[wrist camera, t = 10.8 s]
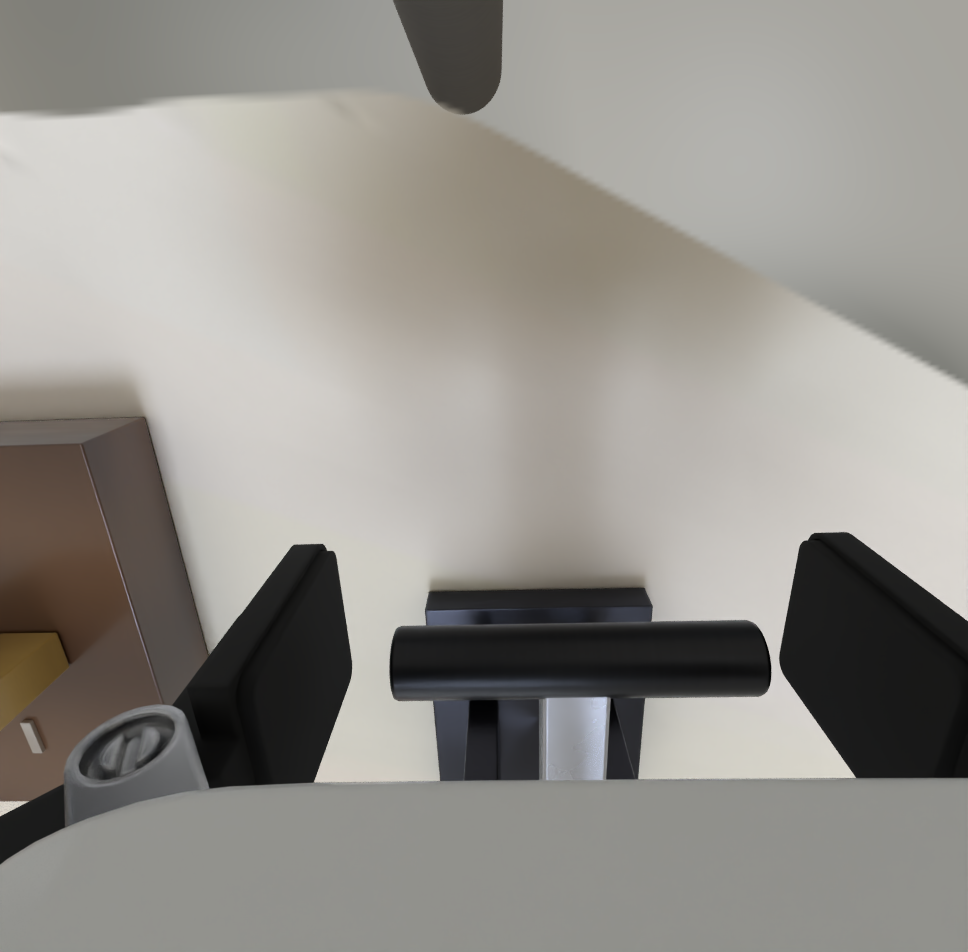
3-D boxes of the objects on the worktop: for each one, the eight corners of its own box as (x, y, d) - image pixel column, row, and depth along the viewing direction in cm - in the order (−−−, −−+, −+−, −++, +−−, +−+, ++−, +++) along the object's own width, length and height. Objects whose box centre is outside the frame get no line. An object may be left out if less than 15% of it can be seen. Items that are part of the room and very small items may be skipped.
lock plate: (-142, 425, 19) (-263, 455, 16) (145, 416, 18) (77, 444, 15) (2, 738, 24) (-69, 806, 21) (230, 736, 23) (191, 804, 20)
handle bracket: (428, 591, 20) (347, 971, 9) (644, 587, 20) (823, 973, 9) (445, 787, 24) (400, 1230, 13) (629, 785, 24) (743, 1237, 13)
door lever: (403, 593, 10) (377, 685, 8) (730, 586, 10) (799, 680, 8) (444, 982, 14) (435, 1114, 12) (674, 984, 14) (707, 1118, 12)
